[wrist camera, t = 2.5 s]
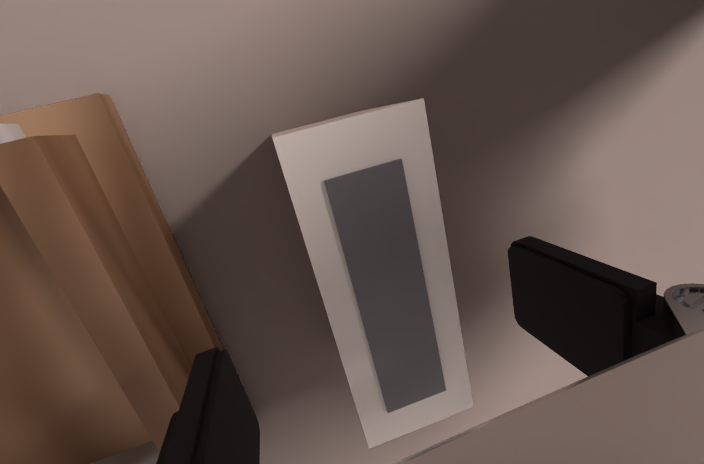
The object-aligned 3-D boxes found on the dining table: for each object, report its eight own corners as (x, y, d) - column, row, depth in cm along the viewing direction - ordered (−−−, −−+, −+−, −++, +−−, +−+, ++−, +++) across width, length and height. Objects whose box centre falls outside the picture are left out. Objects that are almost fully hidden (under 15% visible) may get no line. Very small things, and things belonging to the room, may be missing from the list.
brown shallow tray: (109, 95, 14) (60, 85, 11) (255, 420, 20) (252, 477, 17) (-306, 191, 12) (-519, 214, 9) (-8, 519, 18) (-70, 605, 15)
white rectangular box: (363, 110, 17) (426, 97, 10) (408, 318, 21) (475, 409, 14) (271, 134, 16) (272, 138, 9) (336, 343, 20) (370, 452, 13)
